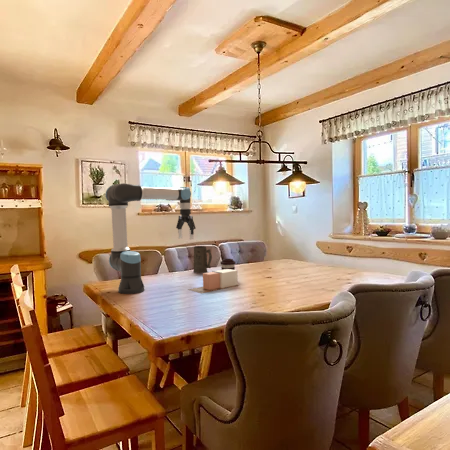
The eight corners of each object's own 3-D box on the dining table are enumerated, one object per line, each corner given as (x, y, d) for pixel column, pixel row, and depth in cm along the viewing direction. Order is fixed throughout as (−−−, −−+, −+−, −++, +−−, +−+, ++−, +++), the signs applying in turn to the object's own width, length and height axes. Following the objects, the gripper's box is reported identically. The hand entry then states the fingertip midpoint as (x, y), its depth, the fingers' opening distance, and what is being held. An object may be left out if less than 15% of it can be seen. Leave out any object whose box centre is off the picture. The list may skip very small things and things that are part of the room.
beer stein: (190, 272, 274) (191, 246, 272) (195, 270, 284) (196, 245, 283) (209, 274, 269) (210, 248, 268) (213, 272, 279) (215, 246, 278)
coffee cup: (234, 283, 230) (233, 260, 229) (219, 283, 232) (218, 260, 231) (236, 280, 240) (236, 258, 239) (222, 280, 242) (222, 258, 241)
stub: (209, 289, 209) (209, 274, 209) (203, 288, 213) (202, 273, 213) (219, 287, 214) (219, 272, 214) (213, 286, 219) (213, 271, 218)
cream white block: (221, 288, 213) (221, 272, 213) (212, 285, 220) (212, 271, 220) (237, 284, 222) (237, 270, 221) (228, 282, 228) (227, 268, 228)
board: (201, 294, 200) (201, 293, 200) (187, 290, 211) (187, 289, 211) (240, 286, 220) (240, 285, 220) (225, 283, 230) (225, 282, 230)
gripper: (200, 208, 245) (200, 239, 246) (179, 209, 264) (180, 237, 265) (191, 208, 240) (192, 240, 241) (171, 209, 259) (171, 238, 260)
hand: (185, 238), depth 253 cm, fingers open, 13 cm apart
